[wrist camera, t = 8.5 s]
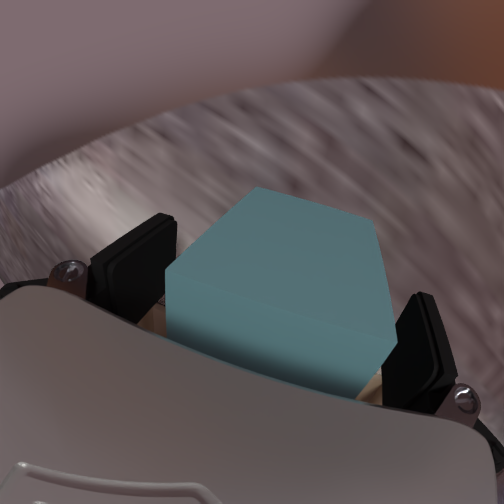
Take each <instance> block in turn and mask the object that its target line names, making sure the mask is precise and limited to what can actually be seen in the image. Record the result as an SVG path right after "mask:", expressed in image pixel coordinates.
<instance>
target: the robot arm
mask: <svg viewBox="0 0 504 504" xmlns="http://www.w3.org/2000/svg"><path fill="white" fill-rule="evenodd" d="M176 240H177V222H176V221H174V217H173V216H170V215H167V214H163V213H158V214H156V215H154V216H153V217H151V218H150V219H148V220H147V221H145V222H143V223H142V224H140V225H139V226H137V227H136V228H134V229H133V230H131V231H130V232H128V233H127V234H125V235H123V236H122V237H120V238H119V239H118V240H116V241H115V242H113V243H112V244H110V245H109V246H107V247H106V248H104V249H103V250H101V251H100V252H99V253H97V254H96V255H94V256H93V257H92V258H90V260H91V265H89V266H88V267H87V265H86V264H85V263H84V262H82V261H79V260H66V261H63V262H60V263H58V264H57V265H55V266H54V267H53V268H52V269H51V271H50V274H49V278H45V279H37V280H28V281H20V282H13V283H8V284H6V285H4V286H3V287H2V288H1V289H0V504H504V470H503V467H504V447H503V445H502V444H501V443H500V442H499V441H498V439H497V438H496V437H495V436H494V435H493V434H492V433H491V432H490V431H489V429H488V428H487V427H486V426H485V425H484V424H483V423H482V422H481V421H480V420H479V419H478V416H479V413H480V410H481V402H480V399H479V396H478V395H477V393H476V392H475V390H474V389H473V388H471V387H470V386H469V385H466V384H464V383H458V384H456V383H455V379H456V377H457V376H458V373H457V369H456V365H455V362H454V358H453V355H452V351H451V348H450V344H449V341H448V338H447V335H446V332H445V328H444V325H443V322H442V320H441V317H440V314H439V311H438V308H437V306H436V303H435V300H434V297H433V296H432V295H430V294H427V293H423V292H418V293H417V294H413V295H412V296H411V298H410V300H409V301H408V303H407V305H406V307H405V308H404V310H403V312H402V314H401V315H400V317H399V319H398V320H397V322H396V324H395V328H396V335H397V342H398V343H397V344H396V345H395V347H394V348H393V350H392V351H391V353H390V354H389V356H388V357H387V358H386V360H385V361H384V363H383V364H382V365H381V371H382V405H377V404H372V403H367V402H363V401H358V400H353V399H349V398H345V397H340V396H336V395H332V394H328V393H324V392H320V391H317V390H313V389H309V388H306V387H302V386H298V385H295V384H292V383H288V382H285V381H281V380H278V379H275V378H272V377H269V376H265V375H262V374H259V373H256V372H253V371H250V370H247V369H244V368H242V367H239V366H236V365H233V364H230V363H227V362H225V361H222V360H219V359H217V358H214V357H211V356H209V355H206V354H204V353H201V352H199V351H196V350H194V349H191V348H189V347H186V346H184V345H181V344H179V343H177V342H174V341H172V340H169V339H167V338H165V337H163V336H160V335H158V334H156V333H154V332H151V331H149V330H147V329H145V328H143V327H141V326H138V325H137V324H138V323H139V322H140V320H141V319H142V318H143V317H144V316H145V315H146V314H147V313H148V311H149V310H150V309H151V308H152V307H153V306H154V305H155V304H156V303H157V302H158V300H159V299H160V298H161V297H162V296H163V295H164V294H165V269H166V268H167V267H168V266H169V265H170V264H171V263H172V262H174V261H175V260H176Z"/></svg>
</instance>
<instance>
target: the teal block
mask: <svg viewBox="0 0 504 504" xmlns="http://www.w3.org/2000/svg"><path fill="white" fill-rule="evenodd" d="M165 303H166V332H167V339H169V340H172V341H174V342H177V343H179V344H181V345H184V346H186V347H189V348H191V349H194V350H196V351H199V352H201V353H204V354H206V355H209V356H211V357H214V358H217V359H219V360H222V361H225V362H227V363H230V364H233V365H236V366H239V367H242V368H244V369H247V370H250V371H253V372H256V373H259V374H262V375H265V376H269V377H272V378H275V379H278V380H281V381H285V382H288V383H292V384H295V385H298V386H302V387H306V388H309V389H313V390H317V391H320V392H324V393H328V394H332V395H336V396H340V397H345V398H349V399H353V400H355V398H356V397H357V396H358V395H359V394H360V392H361V391H362V390H363V389H364V387H365V386H366V385H367V384H368V382H369V381H370V380H371V378H372V377H373V376H374V375H375V373H376V372H377V371H378V369H379V368H380V367H381V365H382V364H383V363H384V361H385V360H386V358H387V357H388V356H389V354H390V353H391V351H392V350H393V348H394V347H395V345H396V344H397V343H398V342H397V335H396V328H395V321H394V315H393V309H392V304H391V298H390V293H389V288H388V283H387V278H386V273H385V269H384V264H383V260H382V256H381V252H380V247H379V243H378V240H377V236H376V232H375V228H374V225H373V221H372V220H369V219H366V218H363V217H360V216H357V215H354V214H351V213H347V212H344V211H341V210H338V209H335V208H331V207H328V206H325V205H321V204H318V203H315V202H311V201H308V200H304V199H301V198H297V197H294V196H290V195H286V194H283V193H279V192H275V191H272V190H268V189H264V188H260V187H255V188H254V189H253V190H252V191H251V192H250V193H248V194H247V195H246V196H245V197H244V198H243V199H242V200H240V201H239V202H238V203H237V204H236V205H235V206H234V207H232V208H231V209H230V210H229V211H228V212H227V213H226V214H225V215H223V216H222V217H221V218H220V219H219V220H218V221H217V222H216V223H215V224H213V225H212V226H211V227H210V228H209V229H208V230H207V231H206V232H205V233H204V234H203V235H201V236H200V237H199V238H198V239H197V240H196V241H195V242H194V243H193V244H192V245H191V246H190V247H188V248H187V249H186V250H185V251H184V252H183V253H182V254H181V255H180V256H179V257H178V258H177V259H176V260H175V261H174V262H172V263H171V264H170V265H169V266H168V267H167V268H166V269H165Z"/></svg>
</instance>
